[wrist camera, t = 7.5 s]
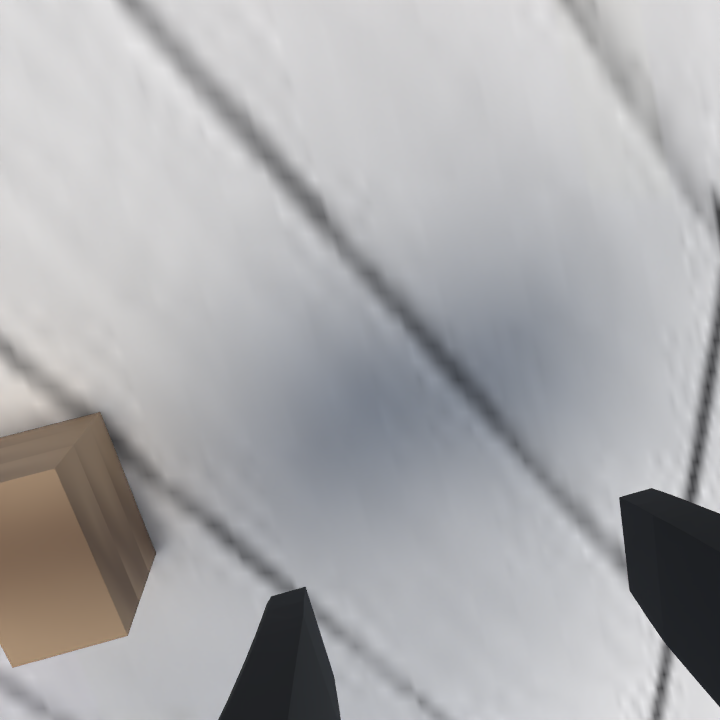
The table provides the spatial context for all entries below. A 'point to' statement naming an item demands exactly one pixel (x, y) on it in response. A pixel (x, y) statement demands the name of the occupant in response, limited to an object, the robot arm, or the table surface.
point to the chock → (67, 541)
